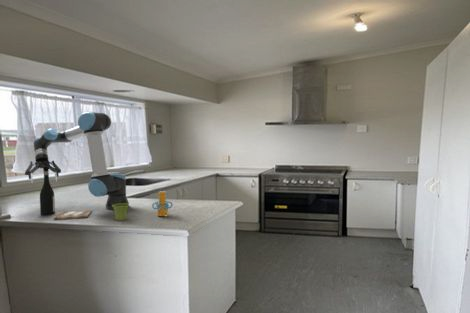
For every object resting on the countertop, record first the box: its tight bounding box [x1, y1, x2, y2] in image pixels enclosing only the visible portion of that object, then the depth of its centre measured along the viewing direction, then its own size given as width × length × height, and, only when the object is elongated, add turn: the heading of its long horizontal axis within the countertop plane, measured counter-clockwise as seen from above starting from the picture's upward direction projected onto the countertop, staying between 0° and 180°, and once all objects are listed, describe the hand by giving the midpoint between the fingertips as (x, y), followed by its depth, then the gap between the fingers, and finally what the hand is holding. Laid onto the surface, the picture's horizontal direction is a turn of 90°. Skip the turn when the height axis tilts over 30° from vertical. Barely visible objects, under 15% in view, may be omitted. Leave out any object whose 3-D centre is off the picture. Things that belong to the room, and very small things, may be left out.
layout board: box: [53, 209, 93, 221], centre depth 200 cm, size 18×16×1 cm
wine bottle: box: [39, 167, 56, 216], centre depth 205 cm, size 8×8×30 cm
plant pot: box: [112, 203, 130, 221], centre depth 191 cm, size 9×9×9 cm
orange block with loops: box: [151, 190, 173, 217], centre depth 199 cm, size 12×10×15 cm
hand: (44, 181), depth 208 cm, fingers open, 13 cm apart
